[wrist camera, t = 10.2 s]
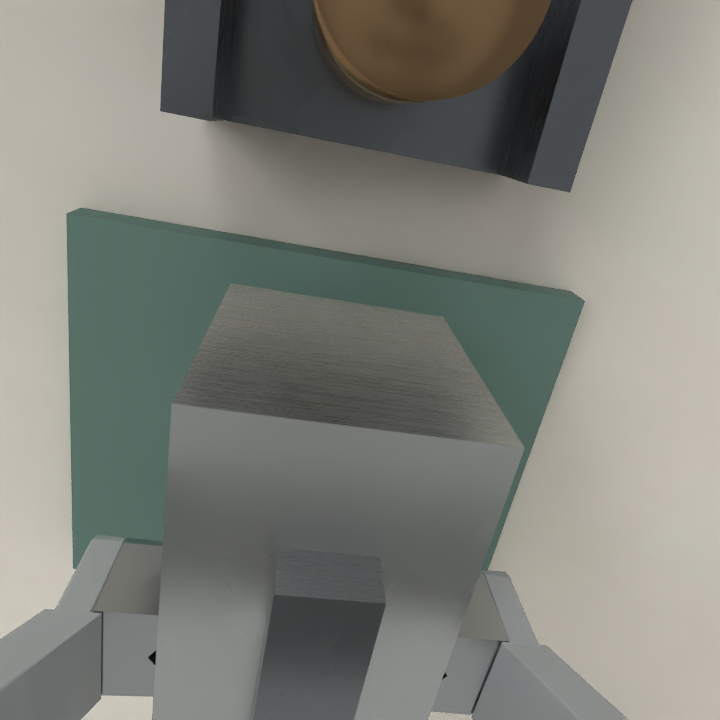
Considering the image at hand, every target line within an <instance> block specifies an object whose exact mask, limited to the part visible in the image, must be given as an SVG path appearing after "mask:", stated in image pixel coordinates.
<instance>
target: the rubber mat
mask: <svg viewBox="0 0 720 720" xmlns="http://www.w3.org/2000/svg"><path fill="white" fill-rule="evenodd" d="M67 261H68V315H69V369H70V423H71V477H72V531H73V569H76V568H77V566H78V565H79V563H80V561H81V559H82V557H83V555H84V553H85V551H86V549H87V547H88V546H89V544H90V542H91V540H92V539H93V538H94V537H95V536H97V535H105V536H113V537H121V538H136V539H145V540H154V541H162V542H163V535H164V519H165V503H166V487H167V470H168V454H169V438H170V421H171V405H172V402H173V400H174V398H175V396H176V394H177V392H178V390H179V388H180V386H181V384H182V382H183V380H184V377H185V375H186V373H187V371H188V369H189V367H190V365H191V363H192V361H193V359H194V357H195V355H196V353H197V351H198V349H199V347H200V345H201V343H202V341H203V339H204V337H205V335H206V333H207V331H208V329H209V327H210V325H211V322H212V320H213V318H214V316H215V314H216V312H217V310H218V308H219V306H220V304H221V302H222V300H223V298H224V296H225V294H226V292H227V290H228V288H229V286H230V284H231V283H232V284H238V285H244V286H251V287H257V288H263V289H270V290H276V291H283V292H289V293H295V294H302V295H308V296H314V297H321V298H327V299H333V300H340V301H346V302H352V303H359V304H365V305H371V306H378V307H384V308H390V309H397V310H403V311H409V312H416V313H422V314H428V315H435V316H441V317H443V318H444V319H445V321H446V323H447V324H448V326H449V327H450V329H451V331H452V332H453V334H454V335H455V337H456V339H457V340H458V342H459V343H460V345H461V347H462V348H463V350H464V351H465V353H466V355H467V356H468V358H469V359H470V361H471V363H472V364H473V366H474V367H475V369H476V371H477V372H478V374H479V375H480V377H481V379H482V380H483V382H484V383H485V385H486V387H487V388H488V390H489V391H490V393H491V395H492V396H493V398H494V400H495V401H496V403H497V404H498V406H499V408H500V409H501V411H502V412H503V414H504V416H505V417H506V419H507V420H508V422H509V424H510V425H511V427H512V428H513V430H514V432H515V433H516V435H517V436H518V438H519V440H520V441H521V443H522V444H523V446H524V448H525V449H524V452H523V455H522V457H521V460H520V463H519V466H518V469H517V471H516V474H515V477H514V480H513V482H512V485H511V488H510V491H509V494H508V496H507V499H506V502H505V505H504V508H503V510H502V513H501V516H500V519H499V522H498V524H497V527H496V530H495V533H494V536H493V538H492V541H491V544H490V547H489V550H488V552H487V555H486V558H485V561H484V564H483V566H482V569H481V570H486V571H487V570H488V567H489V565H490V562H491V559H492V556H493V554H494V551H495V548H496V545H497V542H498V540H499V537H500V534H501V531H502V529H503V526H504V523H505V520H506V518H507V515H508V512H509V509H510V507H511V504H512V501H513V498H514V495H515V493H516V490H517V487H518V484H519V482H520V479H521V476H522V473H523V471H524V468H525V465H526V462H527V460H528V457H529V454H530V451H531V448H532V446H533V443H534V440H535V437H536V435H537V432H538V429H539V426H540V424H541V421H542V418H543V415H544V413H545V410H546V407H547V404H548V401H549V399H550V396H551V393H552V390H553V388H554V385H555V382H556V379H557V377H558V374H559V371H560V368H561V366H562V363H563V360H564V357H565V355H566V352H567V349H568V346H569V343H570V341H571V338H572V335H573V332H574V330H575V327H576V324H577V321H578V319H579V316H580V313H581V310H582V308H583V305H584V302H585V301H584V300H582V299H581V298H580V297H578V296H577V295H575V294H574V293H572V292H571V291H565V290H559V289H553V288H547V287H541V286H535V285H530V284H524V283H518V282H512V281H506V280H500V279H494V278H489V277H483V276H477V275H471V274H465V273H459V272H454V271H448V270H442V269H436V268H430V267H424V266H418V265H413V264H407V263H401V262H395V261H389V260H383V259H377V258H372V257H366V256H360V255H354V254H348V253H342V252H336V251H331V250H325V249H319V248H313V247H307V246H301V245H296V244H290V243H284V242H278V241H272V240H266V239H260V238H255V237H249V236H243V235H237V234H231V233H225V232H219V231H214V230H208V229H202V228H196V227H190V226H184V225H178V224H173V223H167V222H161V221H155V220H149V219H143V218H138V217H132V216H126V215H120V214H114V213H108V212H102V211H97V210H91V209H85V208H79V209H77V210H74V211H72V212H69V213H67Z"/></svg>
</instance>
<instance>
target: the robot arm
mask: <svg viewBox="0 0 720 720" xmlns="http://www.w3.org/2000/svg"><path fill="white" fill-rule="evenodd" d="M162 552H163V542H162V541H154V540H145V539H136V538H121V537H113V536H105V535H97V536H95V537H94V538H93V539H92V540H91V542H90V544H89V546H88V547H87V549H86V551H85V553H84V555H83V557H82V559H81V561H80V563H79V565H78V566H77V568H76V570H75V572H74V574H73V576H72V578H71V580H70V582H69V584H68V586H67V587H66V589H65V591H64V593H63V595H62V597H61V599H60V601H59V603H58V605H57V606H56V608H55V610H53V609H45V610H43V611H42V612H40V613H39V614H37V615H36V616H34V617H33V618H31V619H30V620H28V621H27V622H25V623H24V624H22V625H21V626H19V627H18V628H16V629H15V630H13V631H12V632H10V633H9V634H7V635H6V636H4V637H3V638H1V639H0V720H81V719H82V718H83V717H84V716H85V715H86V714H87V713H88V712H89V711H90V709H91V708H92V707H93V706H94V705H95V704H96V703H97V702H98V701H99V700H100V699H101V695H113V696H154V682H155V665H156V649H157V633H158V617H159V600H160V584H161V568H162ZM431 711H434V712H446V713H458V714H470V715H472V719H473V720H628V719H627V718H626V717H625V716H624V715H623V714H622V713H621V712H619V711H618V710H617V709H616V708H615V707H614V706H613V705H612V704H611V703H609V702H608V701H607V700H606V699H605V698H604V697H603V696H602V695H601V694H600V693H598V692H597V691H596V690H595V689H594V688H593V687H592V686H591V685H590V684H588V683H587V682H586V681H585V680H584V679H583V678H582V677H581V676H580V675H578V674H577V673H576V672H575V671H574V670H573V669H572V668H571V667H570V666H569V665H567V664H566V663H565V662H564V661H563V660H562V659H561V658H560V657H559V656H557V655H556V654H555V653H554V652H553V651H552V650H551V649H550V648H549V647H547V646H546V645H539V644H538V642H537V640H536V637H535V635H534V633H533V630H532V628H531V626H530V623H529V621H528V619H527V616H526V614H525V612H524V609H523V607H522V605H521V602H520V600H519V598H518V595H517V593H516V591H515V588H514V586H513V584H512V581H511V579H510V577H509V575H508V574H507V573H506V572H500V571H486V570H481V572H480V575H479V578H478V580H477V583H476V586H475V589H474V592H473V594H472V597H471V600H470V603H469V606H468V608H467V611H466V614H465V617H464V620H463V622H462V625H461V628H460V631H459V634H458V636H457V639H456V642H455V645H454V647H453V650H452V653H451V656H450V659H449V661H448V664H447V667H446V670H445V673H444V675H443V678H442V681H441V684H440V687H439V689H438V692H437V695H436V698H435V701H434V703H433V706H432V709H431Z"/></svg>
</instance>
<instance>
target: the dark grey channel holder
mask: <svg viewBox="0 0 720 720" xmlns="http://www.w3.org/2000/svg"><path fill="white" fill-rule="evenodd" d="M631 2H632V0H165V14H164V37H163V61H162V84H161V107H160V111H162V112H167V113H172V114H178V115H183V116H188V117H193V118H198V119H203V120H208V121H222V120H227V121H232V122H237V123H242V124H247V125H252V126H257V127H262V128H267V129H272V130H277V131H282V132H287V133H292V134H297V135H302V136H307V137H312V138H317V139H322V140H327V141H332V142H337V143H343V144H348V145H353V146H358V147H363V148H368V149H373V150H378V151H383V152H388V153H393V154H398V155H403V156H408V157H413V158H418V159H423V160H428V161H433V162H438V163H443V164H448V165H453V166H458V167H463V168H468V169H473V170H478V171H483V172H488V173H493V174H498V175H502V176H506V177H509V178H512V179H515V180H518V181H521V182H524V183H527V184H531V185H536V186H541V187H546V188H551V189H556V190H561V191H567V192H570V190H571V187H572V184H573V181H574V178H575V175H576V172H577V169H578V166H579V163H580V159H581V156H582V153H583V150H584V147H585V144H586V141H587V138H588V135H589V132H590V129H591V126H592V123H593V119H594V116H595V113H596V110H597V107H598V104H599V101H600V98H601V95H602V92H603V89H604V86H605V83H606V79H607V76H608V73H609V70H610V67H611V64H612V61H613V58H614V55H615V52H616V49H617V46H618V42H619V39H620V36H621V33H622V30H623V27H624V24H625V21H626V18H627V15H628V12H629V9H630V6H631Z"/></svg>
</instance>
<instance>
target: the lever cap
mask: <svg viewBox="0 0 720 720" xmlns="http://www.w3.org/2000/svg"><path fill="white" fill-rule="evenodd" d="M524 449H525V448H524V446H523V444H522V443H521V441H520V440H519V438H518V436H517V435H516V433H515V432H514V430H513V428H512V427H511V425H510V424H509V422H508V420H507V419H506V417H505V416H504V414H503V412H502V411H501V409H500V408H499V406H498V404H497V403H496V401H495V400H494V398H493V396H492V395H491V393H490V391H489V390H488V388H487V387H486V385H485V383H484V382H483V380H482V379H481V377H480V375H479V374H478V372H477V371H476V369H475V367H474V366H473V364H472V363H471V361H470V359H469V358H468V356H467V355H466V353H465V351H464V350H463V348H462V347H461V345H460V343H459V342H458V340H457V339H456V337H455V335H454V334H453V332H452V331H451V329H450V327H449V326H448V324H447V323H446V321H445V319H444V318H443V317H441V316H435V315H428V314H422V313H416V312H409V311H403V310H397V309H390V308H384V307H378V306H371V305H365V304H359V303H352V302H346V301H340V300H333V299H327V298H321V297H314V296H308V295H302V294H295V293H289V292H283V291H276V290H270V289H263V288H257V287H251V286H244V285H238V284H232V283H231V284H230V286H229V288H228V290H227V292H226V294H225V296H224V298H223V300H222V302H221V304H220V306H219V308H218V310H217V312H216V314H215V316H214V318H213V320H212V322H211V325H210V327H209V329H208V331H207V333H206V335H205V337H204V339H203V341H202V343H201V345H200V347H199V349H198V351H197V353H196V355H195V357H194V359H193V361H192V363H191V365H190V367H189V369H188V371H187V373H186V375H185V377H184V380H183V382H182V384H181V386H180V388H179V390H178V392H177V394H176V396H175V398H174V400H173V402H172V405H171V421H170V438H169V454H168V470H167V487H166V503H165V519H164V535H163V552H162V568H161V584H160V600H159V617H158V633H157V649H156V665H155V682H154V698H153V714H152V720H428V717H429V715H430V712H431V709H432V706H433V703H434V701H435V698H436V695H437V692H438V689H439V687H440V684H441V681H442V678H443V675H444V673H445V670H446V667H447V664H448V661H449V659H450V656H451V653H452V650H453V647H454V645H455V642H456V639H457V636H458V634H459V631H460V628H461V625H462V622H463V620H464V617H465V614H466V611H467V608H468V606H469V603H470V600H471V597H472V594H473V592H474V589H475V586H476V583H477V580H478V578H479V575H480V572H481V569H482V566H483V564H484V561H485V558H486V555H487V552H488V550H489V547H490V544H491V541H492V538H493V536H494V533H495V530H496V527H497V524H498V522H499V519H500V516H501V513H502V510H503V508H504V505H505V502H506V499H507V496H508V494H509V491H510V488H511V485H512V482H513V480H514V477H515V474H516V471H517V469H518V466H519V463H520V460H521V457H522V455H523V452H524Z"/></svg>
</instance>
